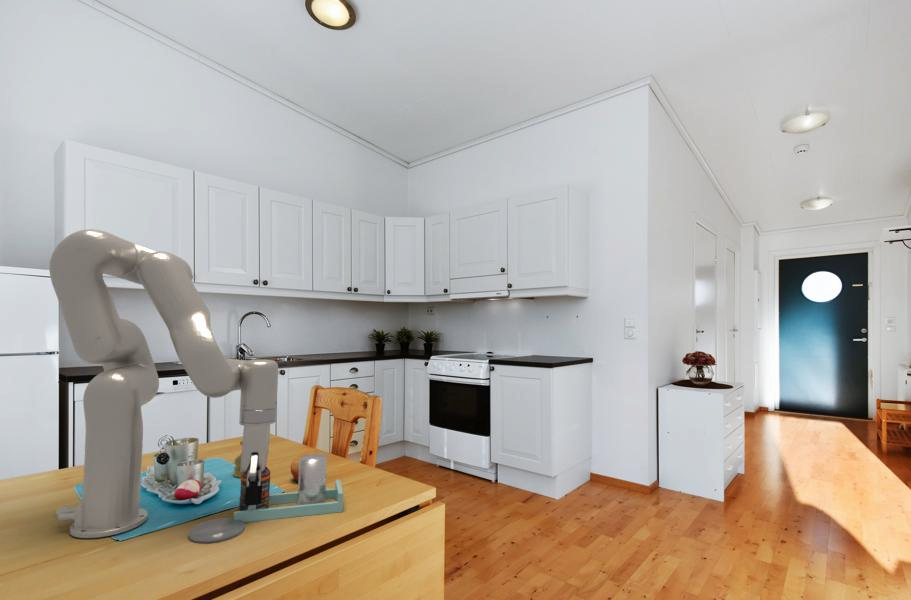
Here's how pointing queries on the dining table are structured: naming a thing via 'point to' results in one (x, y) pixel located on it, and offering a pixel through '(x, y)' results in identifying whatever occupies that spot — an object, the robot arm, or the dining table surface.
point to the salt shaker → (237, 465)
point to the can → (312, 479)
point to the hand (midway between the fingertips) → (254, 498)
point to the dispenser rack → (293, 510)
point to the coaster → (216, 530)
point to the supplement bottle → (265, 491)
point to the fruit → (297, 466)
